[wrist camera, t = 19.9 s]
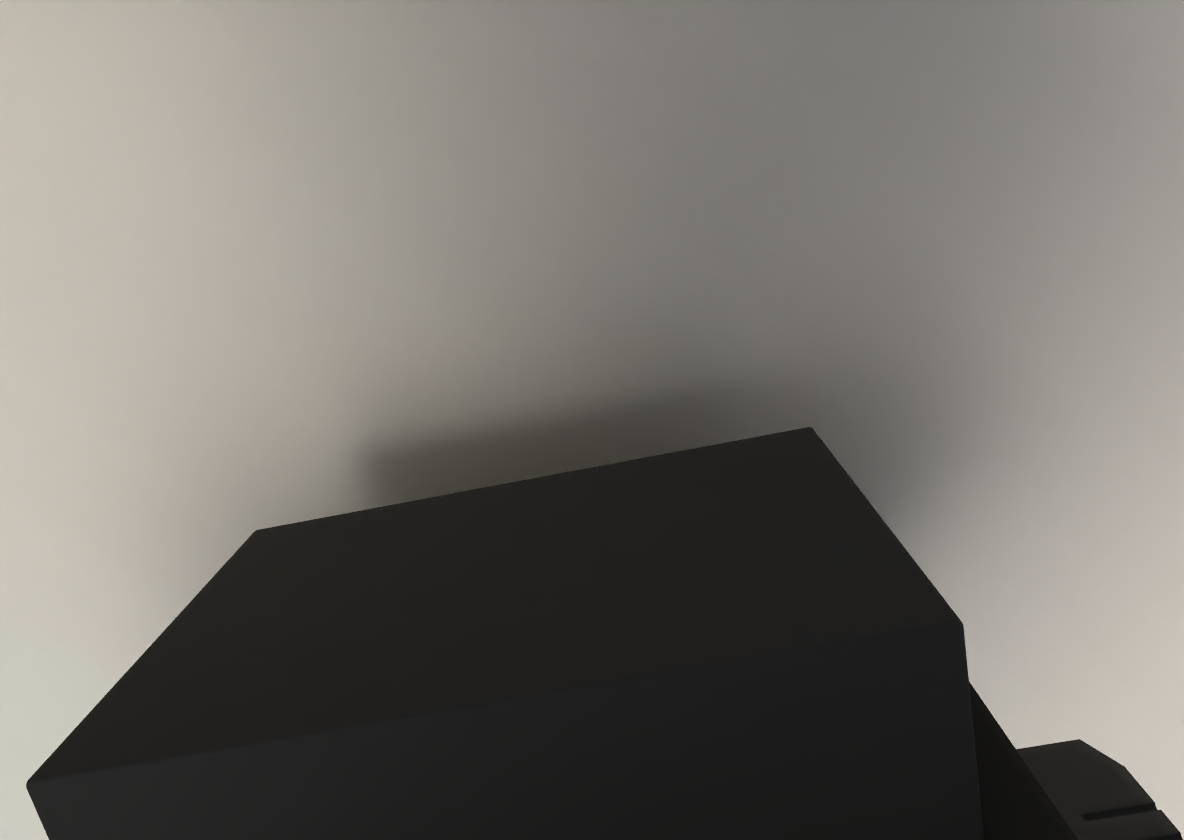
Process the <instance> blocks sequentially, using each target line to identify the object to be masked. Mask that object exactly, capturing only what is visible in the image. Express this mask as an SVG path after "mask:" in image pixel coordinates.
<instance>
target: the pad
mask: <svg viewBox="0 0 1184 840" xmlns="http://www.w3.org/2000/svg"><path fill="white" fill-rule="evenodd" d="M26 787H27V790H28V792H29V795H30V797H31V799H32V801H33V804H34V806H35V808H36V811H37V813H38V815H39V817H40V820H41V822H42V824H43V827H44V829H45V831H46V833H47V836H48V838H49V840H984V833H983V823H982V813H981V802H980V792H979V782H978V772H977V761H976V751H975V741H974V730H973V720H972V710H971V700H970V689H969V679H968V669H967V659H966V648H965V638H964V628H963V624H962V622H961V620H960V619H959V618H958V617H957V615H956V614H955V613H954V611H953V610H952V609H951V607H950V606H949V605H948V604H947V602H946V601H945V600H944V598H943V597H942V596H941V595H940V593H939V592H938V591H937V589H936V588H935V587H934V585H933V584H932V583H931V582H930V580H929V579H928V578H927V576H926V575H925V574H924V572H923V571H922V570H921V569H920V567H919V566H918V565H917V563H916V562H915V561H914V559H913V558H912V557H911V556H910V554H909V553H908V552H907V550H906V549H905V548H904V547H903V545H902V544H901V543H900V541H899V540H898V539H897V537H896V536H895V535H894V534H893V532H892V531H891V530H890V528H889V527H888V526H887V524H886V523H885V522H884V521H883V519H882V518H881V517H880V515H879V514H878V513H877V511H876V510H875V509H874V508H873V506H872V505H871V504H870V502H869V501H868V500H867V499H866V497H865V496H864V495H863V493H862V492H861V491H860V489H859V488H858V487H857V486H856V484H855V483H854V482H853V480H852V479H851V478H850V476H849V475H848V474H847V473H846V471H845V470H844V469H843V467H842V466H841V465H840V463H839V462H838V461H837V460H836V458H835V457H834V456H833V454H832V453H831V452H830V451H829V449H828V448H827V447H826V445H825V444H824V443H823V441H822V440H821V439H820V438H819V436H818V435H817V434H816V432H815V431H814V430H813V428H810V427H807V428H802V429H797V430H791V431H786V432H781V433H775V434H770V435H764V436H759V437H754V438H748V439H743V440H738V441H732V442H727V443H722V444H716V445H711V446H705V447H700V448H695V449H689V450H684V451H679V452H673V453H668V454H663V455H657V456H652V457H647V458H641V459H636V460H630V461H625V462H620V463H614V464H609V465H604V466H598V467H593V468H588V469H582V470H577V471H572V472H566V473H561V474H555V475H550V476H545V477H539V478H534V479H529V480H523V481H518V482H513V483H507V484H502V485H497V486H491V487H486V488H480V489H475V490H470V491H464V492H459V493H454V494H448V495H443V496H438V497H432V498H427V499H421V500H416V501H411V502H405V503H400V504H395V505H389V506H384V507H379V508H373V509H368V510H363V511H357V512H352V513H346V514H341V515H336V516H330V517H325V518H320V519H314V520H309V521H304V522H298V523H293V524H288V525H282V526H277V527H271V528H266V529H261V530H256V531H255V532H254V533H253V534H252V535H251V536H250V537H249V538H248V539H247V540H246V542H245V543H244V544H243V545H242V546H241V547H240V548H239V549H238V550H237V551H236V553H235V554H234V555H233V556H232V557H231V558H230V559H229V560H228V561H227V562H226V563H225V565H224V566H223V567H222V568H221V569H220V570H219V571H218V572H217V573H216V574H215V576H214V577H213V578H212V579H211V580H210V581H209V582H208V583H207V584H206V585H205V587H204V588H203V589H202V590H201V591H200V592H199V593H198V594H197V595H196V596H195V598H194V599H193V600H192V601H191V602H190V603H189V604H188V605H187V606H186V607H185V609H184V610H183V611H182V612H181V613H180V614H179V615H178V616H177V617H176V618H175V619H174V621H173V622H172V623H171V624H170V625H169V626H168V627H167V628H166V629H165V630H164V632H163V633H162V634H161V635H160V636H159V637H158V638H157V639H156V640H155V641H154V643H153V644H152V645H151V646H150V647H149V648H148V649H147V650H146V651H145V652H144V654H143V655H142V656H141V657H140V658H139V659H138V660H137V661H136V662H135V663H134V665H133V666H132V667H131V668H130V669H129V670H128V671H127V672H126V673H125V674H124V676H123V677H122V678H121V679H120V680H119V681H118V682H117V683H116V684H115V685H114V686H113V688H112V689H111V690H110V691H109V692H108V693H107V694H106V695H105V696H104V697H103V699H102V700H101V701H100V702H99V703H98V704H97V705H96V706H95V707H94V708H93V710H92V711H91V712H90V713H89V714H88V715H87V716H86V717H85V718H84V719H83V721H82V722H81V723H80V724H79V725H78V726H77V727H76V728H75V729H74V730H73V732H72V733H71V734H70V735H69V736H68V737H67V738H66V739H65V740H64V741H63V742H62V744H61V745H60V746H59V747H58V748H57V749H56V750H55V751H54V752H53V753H52V755H51V756H50V757H49V758H48V759H47V760H46V761H45V762H44V763H43V764H42V766H41V767H40V768H39V769H38V770H37V771H36V772H35V773H34V774H33V775H32V777H31V778H30V779H29V780H28V781H27V784H26Z"/></svg>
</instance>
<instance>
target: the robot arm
mask: <svg viewBox="0 0 1184 840" xmlns="http://www.w3.org/2000/svg"><path fill="white" fill-rule="evenodd" d="M969 689H970V700H971V710H972V720H973V730H974V741H975V751H976V761H977V772H978V782H979V792H980V802H981V813H982V823H983V833H984V840H1183V839H1182V837H1181V833H1180V832H1179V831H1178V829H1177V828H1176V827H1175V826H1174V825H1173V824H1172V822H1171V821H1170V820H1169V819H1168V818H1167V816H1166V815H1165V814H1164V813H1163V812H1162V811H1161V810H1157V808H1156V806H1155V802H1154V801H1153V800H1152V799H1151V798H1150V796H1149V795H1148V794H1147V793H1146V792H1145V790H1144V789H1143V788H1142V787H1141V786H1140V785H1139V783H1138V782H1137V781H1136V780H1135V779H1134V777H1133V776H1132V775H1131V774H1130V773H1129V772H1128V770H1127V769H1126V768H1125V767H1124V766H1122V765H1121V764H1119V763H1118V762H1116V761H1114V760H1113V759H1111V758H1109V757H1108V756H1106V755H1104V754H1103V753H1101V752H1100V751H1098V750H1096V749H1095V748H1093V747H1091V746H1090V745H1088V744H1086V743H1085V742H1083V741H1081V740H1080V739H1078V740H1072V741H1066V742H1060V743H1053V744H1047V745H1041V746H1035V747H1028V748H1022V749H1015V747H1014V746H1013V745H1012V743H1011V742H1010V740H1009V739H1008V737H1007V736H1006V734H1005V733H1004V732H1003V730H1002V729H1001V727H1000V726H999V724H998V723H997V721H996V720H995V718H994V717H993V716H992V714H991V713H990V711H989V710H988V708H987V707H986V705H985V704H984V703H983V701H982V700H981V698H980V697H979V695H978V694H977V692H976V691H975V689H974V688H973V687H972V685H971V684H970V682H969Z"/></svg>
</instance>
